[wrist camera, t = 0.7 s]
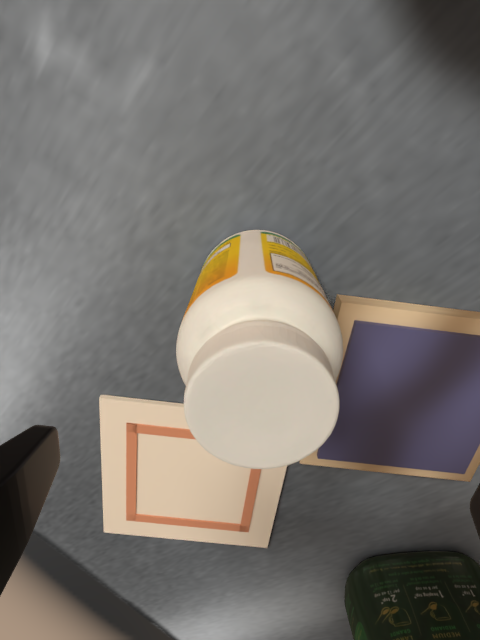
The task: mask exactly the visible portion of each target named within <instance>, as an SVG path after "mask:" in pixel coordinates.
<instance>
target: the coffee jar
mask: <svg viewBox="0 0 480 640" xmlns="http://www.w3.org/2000/svg"><path fill="white" fill-rule="evenodd" d="M345 607H346V611H347V615H348V619H349V623H350V627H351V631H352V635H353V638H354V640H480V565H479V564H478V563H477V562H476V561H475V560H473V559H471V558H470V557H468V556H466V555H464V554H461V553H457V552H446V551H425V552H410V553H398V554H389V555H383V556H376V557H371V558H369V559H366V560H364V561H362V562H361V563H360V564H359V565H358V566H357V567H356V568H355V569H354V570H353V571H352V572H351V573H350V575H349V577H348V579H347V582H346V586H345Z"/></svg>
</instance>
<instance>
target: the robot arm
mask: <svg viewBox="0 0 480 640" xmlns="http://www.w3.org/2000/svg"><path fill="white" fill-rule="evenodd" d="M59 463H60V449H59V438H58V431H57V429H56V428H55V427H53V426H44V425H34V426H32V427H30V428H29V429H27V430H25V431H24V432H22V433H20V434H19V435H17V436H15V437H14V438H12V439H10V440H9V441H7V442H5V443H4V444H2V445H0V595H1V593H2V592H3V590H4V588H5V586H6V584H7V582H8V580H9V578H10V576H11V575H12V572H13V571H14V569H15V567H16V565H17V563H18V561H19V559H20V557H21V555H22V553H23V551H24V549H25V547H26V545H27V543H28V541H29V539H30V536H31V534H32V532H33V529H34V527H35V524H36V522H37V519H38V517H39V514H40V512H41V509H42V507H43V505H44V502H45V500H46V497H47V495H48V492H49V490H50V487H51V485H52V482H53V480H54V477H55V475H56V472H57V470H58V467H59ZM470 512H471V515H472V518H473V521H474V524H475V527H476V530H477V532H478V535H479V538H480V484H479V486H478V488H477V489H476V491H475V493H474V495H473V497H472V499H471V501H470Z"/></svg>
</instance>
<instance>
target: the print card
mask: <svg viewBox="0 0 480 640" xmlns="http://www.w3.org/2000/svg"><path fill="white" fill-rule="evenodd" d="M99 404H100V433H101V462H102V492H103V521H104V532H106V533H117V534H127V535H138V536H148V537H159V538H169V539H179V540H190V541H200V542H211V543H221V544H232V545H242V546H252V547H263V548H267V547H268V543H269V539H270V535H271V530H272V526H273V522H274V518H275V514H276V510H277V506H278V501H279V497H280V493H281V489H282V485H283V481H284V477H285V472H286V468H287V465H286V466H282V467H278V468H272V469H250V468H244V467H239V466H235V465H232V464H229V463H227V462H224V461H222V460H220V459H218V458H217V457H215V456H213V455H212V454H210V453H209V452H207V451H206V450H205V449H204V448H203V447H202V446H201V445H200V444H199V443H198V441H197V440H196V439H195V437H194V436H193V435H192V433H191V432H190V429H189V427H188V425H187V422H186V419H185V413H184V404H181V403H172V402H163V401H154V400H145V399H136V398H127V397H118V396H109V395H101V396H100V398H99Z"/></svg>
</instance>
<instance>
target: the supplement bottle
mask: <svg viewBox="0 0 480 640" xmlns="http://www.w3.org/2000/svg"><path fill="white" fill-rule="evenodd" d="M176 356H177V363H178V367H179V371H180V374H181V377H182V379H183V381H184V383H185V385H186V389H185V394H184V413H185V419H186V422H187V425H188V427H189V429H190V432H191V433H192V435H193V436H194V437H195V439H196V440H197V441H198V443H199V444H200V445H201V446H202V447H203V448H204V449H205V450H206V451H207V452H209V453H210V454H212V455H213V456H215V457H217V458H218V459H220V460H222V461H224V462H227V463H229V464H232V465H235V466H239V467H244V468H250V469H272V468H278V467H282V466H286V465H290V464H293V463H295V462H297V461H300V460H302V459H304V458H305V457H307V456H308V455H310V454H312V453H313V452H315V451H316V450H317V449H318V448H319V447H321V446H322V445H323V444H324V443H325V441H326V440H327V439H328V437H329V436H330V435H331V433H332V431H333V429H334V427H335V424H336V422H337V419H338V414H339V393H338V388H337V385H336V382H335V381H336V379H337V377H338V374H339V371H340V368H341V364H342V359H343V339H342V334H341V329H340V326H339V323H338V321H337V319H336V316H335V314H334V312H333V310H332V308H331V306H330V304H329V302H328V300H327V297H326V295H325V293H324V291H323V289H322V287H321V285H320V283H319V281H318V279H317V277H316V275H315V273H314V271H313V269H312V267H311V264H310V263H309V261H308V259H307V258H306V256H305V254H304V253H303V252H302V250H301V249H300V248H299V247H298V246H297V245H296V244H295V243H293V242H292V241H291V240H289V239H288V238H286V237H284V236H282V235H280V234H278V233H275V232H271V231H266V230H249V231H243V232H240V233H237V234H234V235H232V236H230V237H228V238H227V239H225V240H224V241H222V242H221V243H220V244H219V245H218V246H217V247H216V248H215V249H214V250H213V251H212V252H211V253H210V255H209V256H208V257H207V259H206V261H205V263H204V265H203V267H202V270H201V272H200V275H199V278H198V281H197V283H196V286H195V289H194V291H193V294H192V297H191V299H190V302H189V304H188V307H187V310H186V312H185V315H184V317H183V320H182V323H181V326H180V329H179V333H178V337H177V346H176Z"/></svg>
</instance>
